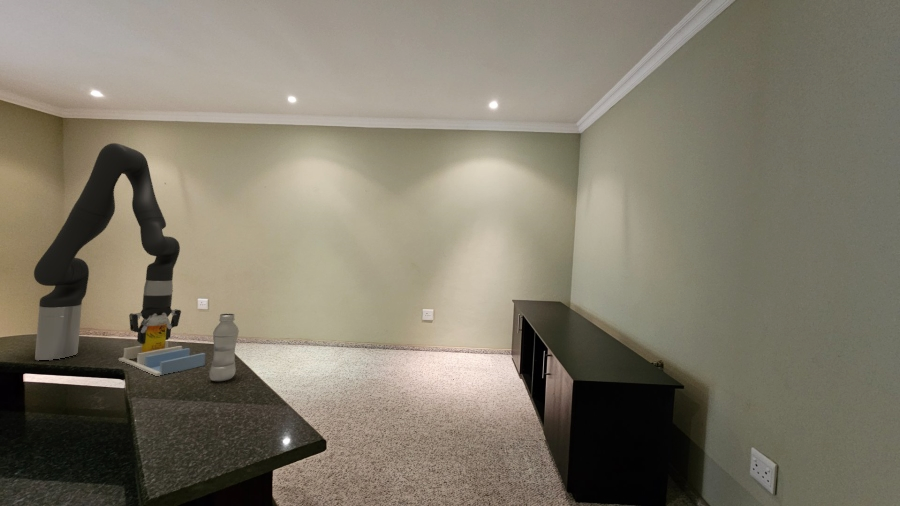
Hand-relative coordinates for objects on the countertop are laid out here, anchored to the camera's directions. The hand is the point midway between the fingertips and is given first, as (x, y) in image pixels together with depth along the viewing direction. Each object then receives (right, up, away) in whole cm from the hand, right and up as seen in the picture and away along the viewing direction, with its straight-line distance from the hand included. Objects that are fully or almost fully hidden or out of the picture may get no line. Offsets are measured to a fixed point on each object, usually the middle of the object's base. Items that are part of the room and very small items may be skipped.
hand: (153, 341), depth 115 cm
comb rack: (+6, -7, -3) cm, 9 cm away
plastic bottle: (+33, -8, -14) cm, 37 cm away
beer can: (0, -6, 0) cm, 6 cm away
